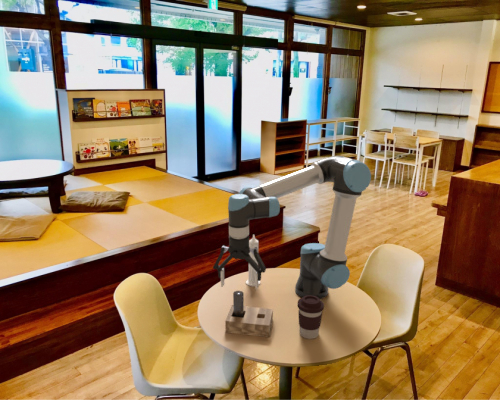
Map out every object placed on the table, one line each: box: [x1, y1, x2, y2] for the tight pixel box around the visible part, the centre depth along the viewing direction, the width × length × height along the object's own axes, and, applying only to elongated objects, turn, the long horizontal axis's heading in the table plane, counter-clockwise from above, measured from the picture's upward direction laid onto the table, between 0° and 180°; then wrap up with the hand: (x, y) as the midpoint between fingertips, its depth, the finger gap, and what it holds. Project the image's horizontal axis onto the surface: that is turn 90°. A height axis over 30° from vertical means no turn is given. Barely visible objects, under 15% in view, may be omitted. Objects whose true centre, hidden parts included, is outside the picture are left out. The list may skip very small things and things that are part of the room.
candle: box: [245, 234, 261, 287], centre depth 199 cm, size 7×7×25 cm
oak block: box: [224, 304, 274, 338], centre depth 167 cm, size 17×12×5 cm
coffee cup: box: [297, 295, 325, 340], centre depth 161 cm, size 10×10×15 cm
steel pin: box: [232, 290, 245, 318], centre depth 166 cm, size 4×4×13 cm
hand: (239, 286), depth 164 cm, fingers open, 13 cm apart
